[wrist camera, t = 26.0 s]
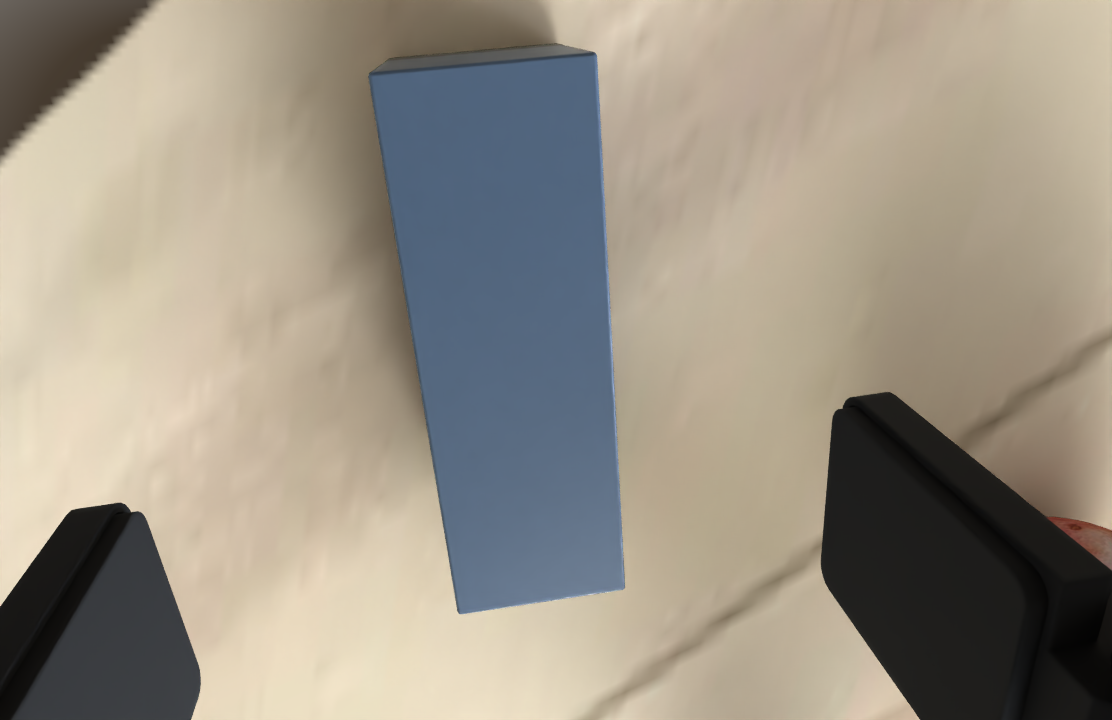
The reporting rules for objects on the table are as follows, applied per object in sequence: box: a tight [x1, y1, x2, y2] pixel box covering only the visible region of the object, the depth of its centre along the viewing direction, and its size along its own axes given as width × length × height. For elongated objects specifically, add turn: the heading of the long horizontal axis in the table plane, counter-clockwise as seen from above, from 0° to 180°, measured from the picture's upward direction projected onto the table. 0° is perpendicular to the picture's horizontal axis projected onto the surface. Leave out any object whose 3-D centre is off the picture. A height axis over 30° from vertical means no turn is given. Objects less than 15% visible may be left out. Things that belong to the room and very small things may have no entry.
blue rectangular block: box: [368, 43, 625, 614], centre depth 18 cm, size 12×4×5 cm, turn 4°
